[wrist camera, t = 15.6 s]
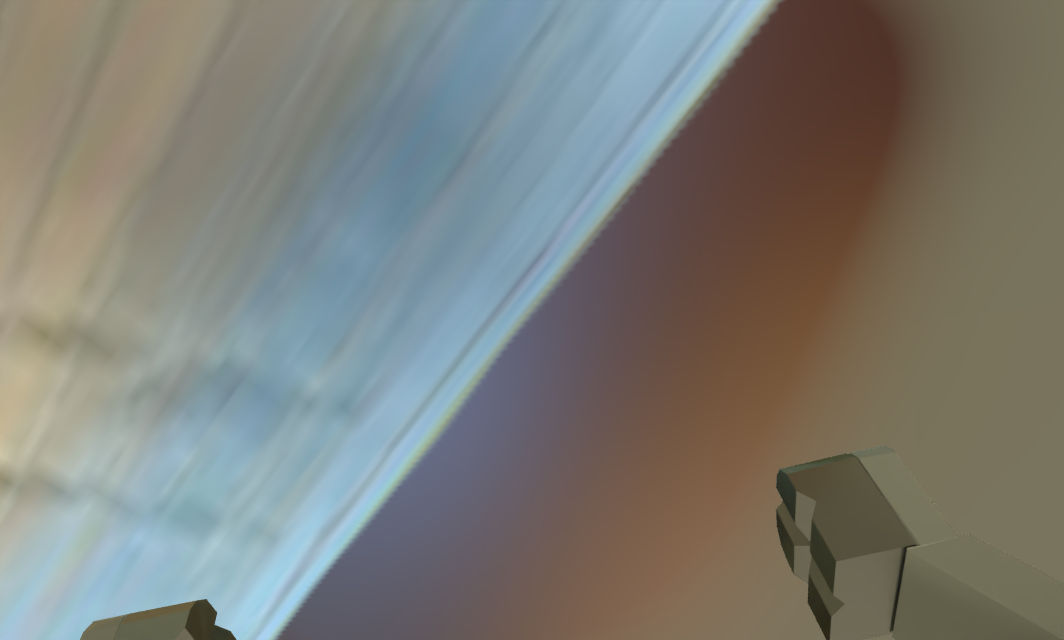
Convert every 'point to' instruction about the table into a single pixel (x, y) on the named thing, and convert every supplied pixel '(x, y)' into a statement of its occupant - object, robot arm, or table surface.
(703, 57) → the table surface
